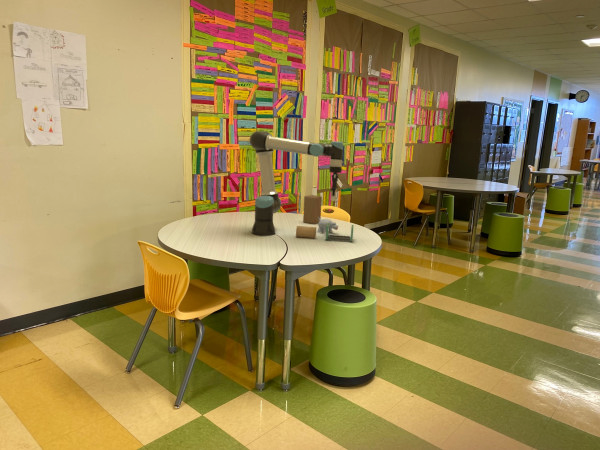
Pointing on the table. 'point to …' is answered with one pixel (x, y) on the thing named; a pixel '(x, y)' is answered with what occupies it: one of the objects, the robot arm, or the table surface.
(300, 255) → the table surface
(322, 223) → the hippopotamus toy
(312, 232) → the cylinder
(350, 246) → the table surface
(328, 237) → the holder
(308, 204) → the wooden block
